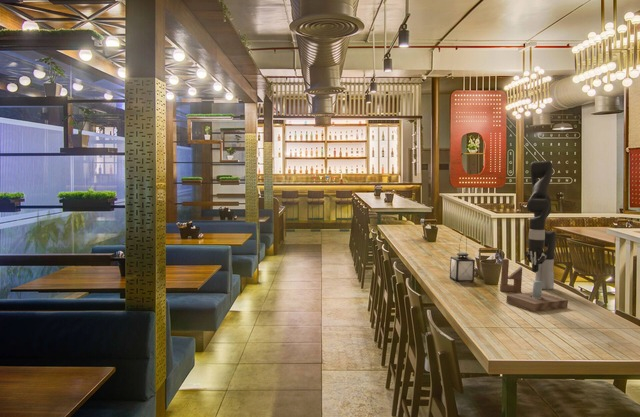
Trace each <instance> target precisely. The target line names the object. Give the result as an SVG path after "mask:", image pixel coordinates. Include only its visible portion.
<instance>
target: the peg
mask: <svg viewBox="0 0 640 417" xmlns="http://www.w3.org/2000/svg"><path fill="white" fill-rule="evenodd" d="M542 290H543V289H542V282H541V281H535V280H533V283H532V292H533V296H532V298H535V299H541V293H542Z"/></svg>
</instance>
